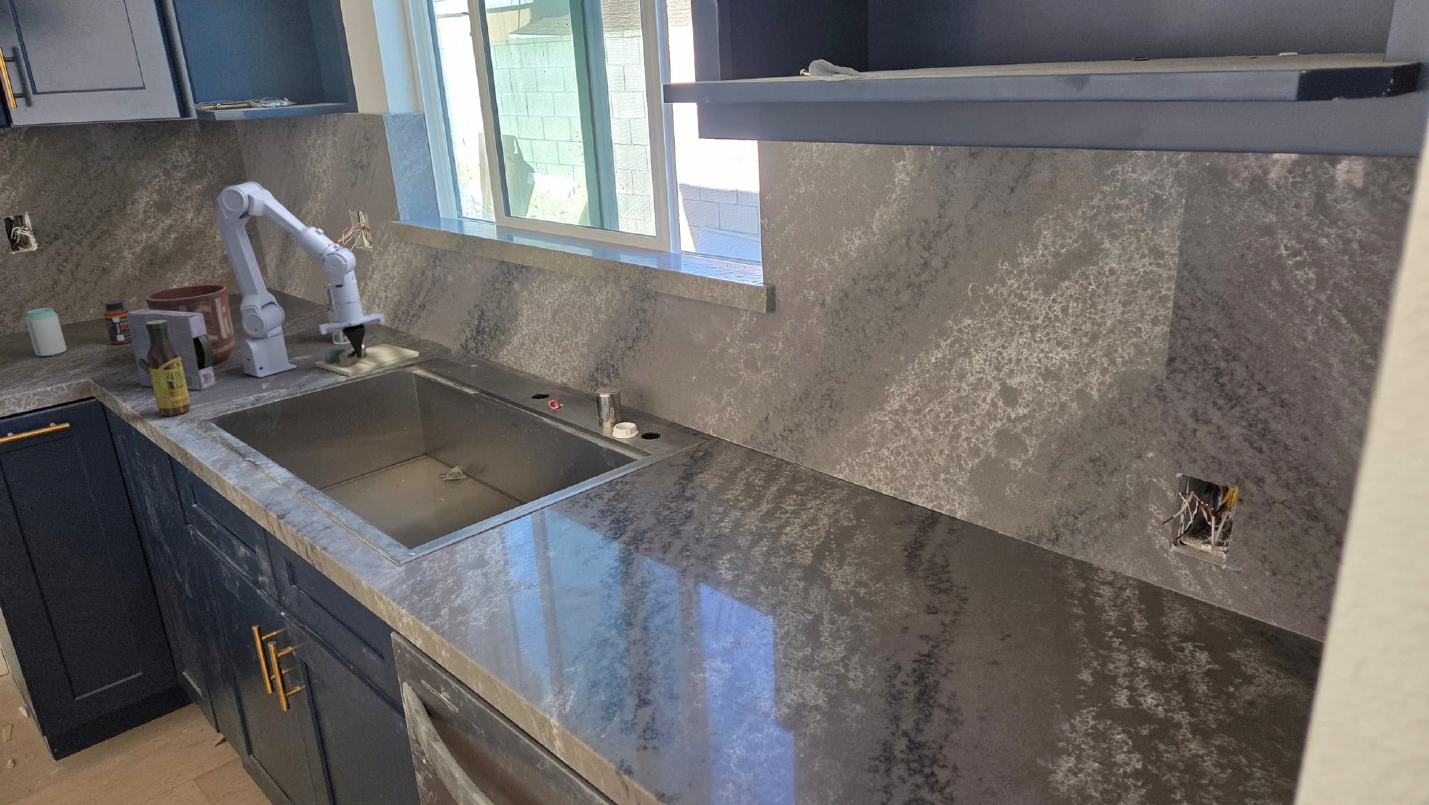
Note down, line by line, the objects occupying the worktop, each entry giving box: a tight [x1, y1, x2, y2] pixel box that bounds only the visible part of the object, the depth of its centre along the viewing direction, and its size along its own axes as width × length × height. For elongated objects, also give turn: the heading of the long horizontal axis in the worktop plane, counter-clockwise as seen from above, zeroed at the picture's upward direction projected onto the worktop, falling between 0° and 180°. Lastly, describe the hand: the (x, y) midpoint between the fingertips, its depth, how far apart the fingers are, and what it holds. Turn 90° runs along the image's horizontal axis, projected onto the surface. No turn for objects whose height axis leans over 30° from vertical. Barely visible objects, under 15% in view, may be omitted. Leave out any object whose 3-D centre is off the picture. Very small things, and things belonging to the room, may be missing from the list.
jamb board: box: [314, 343, 420, 377], centre depth 244 cm, size 19×15×4 cm
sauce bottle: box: [146, 320, 191, 417], centre depth 211 cm, size 7×6×20 cm
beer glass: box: [321, 283, 351, 345], centre depth 261 cm, size 7×7×15 cm
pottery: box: [146, 284, 236, 366], centre depth 249 cm, size 18×18×18 cm
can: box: [25, 307, 67, 357], centre depth 264 cm, size 7×7×12 cm
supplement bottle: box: [103, 300, 133, 345], centre depth 273 cm, size 6×6×11 cm
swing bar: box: [339, 342, 367, 367], centre depth 240 cm, size 10×3×3 cm, turn 172°
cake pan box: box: [127, 308, 217, 392], centre depth 230 cm, size 19×5×18 cm, turn 72°
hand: (359, 357), depth 239 cm, fingers closed, pressing on swing bar
